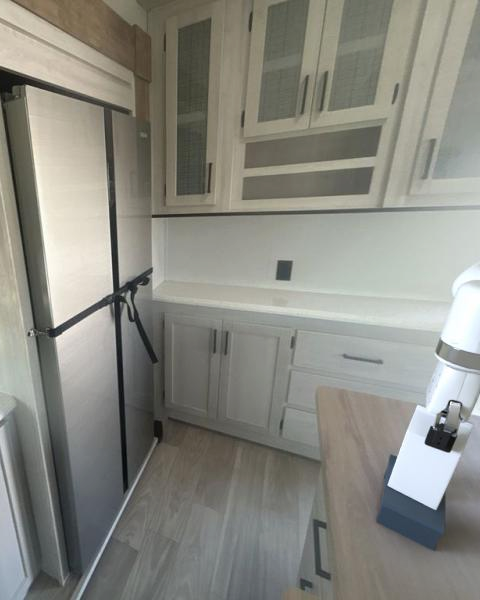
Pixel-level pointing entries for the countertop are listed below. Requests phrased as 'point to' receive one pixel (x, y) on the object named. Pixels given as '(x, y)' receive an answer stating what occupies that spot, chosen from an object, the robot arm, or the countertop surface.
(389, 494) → the navy blue slab
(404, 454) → the milk carton
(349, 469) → the countertop surface
